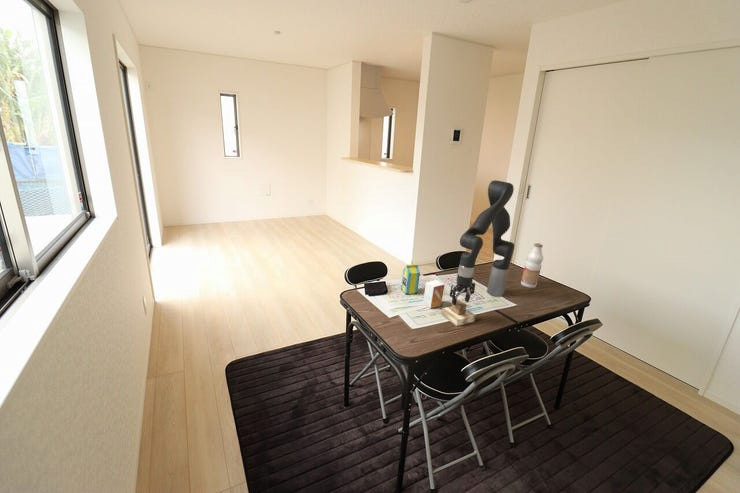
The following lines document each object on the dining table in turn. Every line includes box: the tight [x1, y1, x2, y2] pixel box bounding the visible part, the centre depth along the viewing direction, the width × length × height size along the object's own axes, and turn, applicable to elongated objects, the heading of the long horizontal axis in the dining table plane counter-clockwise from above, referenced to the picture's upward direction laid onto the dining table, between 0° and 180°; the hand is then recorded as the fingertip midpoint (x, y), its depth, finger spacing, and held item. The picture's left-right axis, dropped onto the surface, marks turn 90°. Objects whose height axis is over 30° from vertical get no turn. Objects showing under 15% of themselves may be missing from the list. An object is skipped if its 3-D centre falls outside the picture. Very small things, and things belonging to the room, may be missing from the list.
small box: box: [422, 279, 445, 309], centre depth 188 cm, size 8×6×13 cm
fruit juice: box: [520, 242, 544, 289], centre depth 221 cm, size 9×9×28 cm
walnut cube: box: [451, 299, 467, 315], centre depth 177 cm, size 5×5×5 cm
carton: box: [400, 260, 421, 296], centre depth 200 cm, size 7×8×18 cm
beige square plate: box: [440, 305, 476, 327], centre depth 178 cm, size 12×12×4 cm
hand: (460, 302), depth 176 cm, fingers open, 8 cm apart
